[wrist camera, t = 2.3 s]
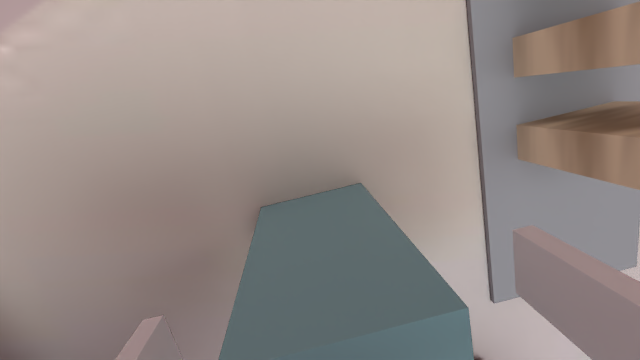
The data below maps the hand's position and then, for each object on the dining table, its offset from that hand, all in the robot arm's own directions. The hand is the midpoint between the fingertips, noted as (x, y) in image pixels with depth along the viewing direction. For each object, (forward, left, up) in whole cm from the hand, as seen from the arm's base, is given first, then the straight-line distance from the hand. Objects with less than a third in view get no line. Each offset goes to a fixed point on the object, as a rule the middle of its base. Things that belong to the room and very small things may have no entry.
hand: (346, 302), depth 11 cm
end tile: (0, 0, -10) cm, 10 cm away
